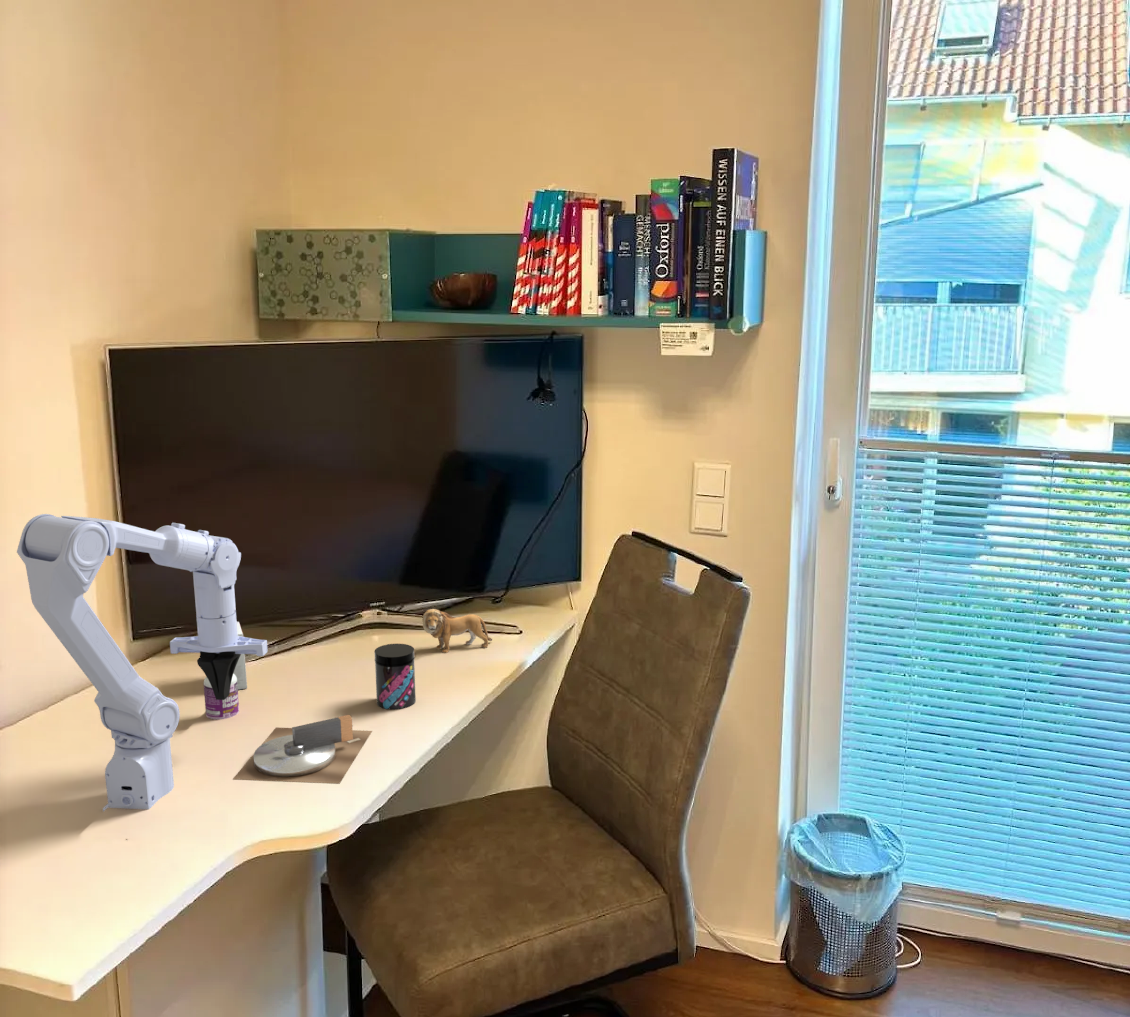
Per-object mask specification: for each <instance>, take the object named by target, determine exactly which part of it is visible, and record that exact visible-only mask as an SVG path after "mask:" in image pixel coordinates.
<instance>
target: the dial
mask: <svg viewBox="0 0 1130 1017" xmlns="http://www.w3.org/2000/svg"><path fill="white" fill-rule="evenodd" d="M291 728H292V733H293V735H288V736H283V737H279V738H276V739H273V740H270V741H268V742H266V743H264V744H262V743H261V745H260V746H258V747H257V748H256V749H255V751H254V753H253V754H254V766H255V767H256V769H257V770H259V771H260V772H262V773H264V774H267V775H272V776H280V777H289V776H299V775H305V774H309V773H312V772H315V771H318V770H320V769H322V768H324V767H326V766H328V765H329V764H330V763H331V762H332V761H333V760H334V758H335V745H334V743H338V742H343V741H348V740H352V739H353V731H352V730H353V718H352V715H350V714H346V715H342V716H338V717H333V718H329V719H325V720H324V719H323V720H319V721H315V722H311V723H306V724H301V725H297V726H293V727H291Z"/></svg>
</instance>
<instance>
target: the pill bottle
mask: <svg viewBox="0 0 1130 1017" xmlns="http://www.w3.org/2000/svg"><path fill="white" fill-rule="evenodd" d="M203 693H204V708H205V716H206V717H207V718H208V719H210V720H226V719H230V718H233V717H235V716H237V715H239V713H240V705H239V704H240V703H239V690H238V686H237V677H236V676H235V674H233V677H232V681H231V686H230V694H229V696H228V697H227V698H226V699H225V700H216V698H215V695H214V692H213V689H212V687H211V684H210V682H209V680H208V678H207V676H206V677H204V680H203Z"/></svg>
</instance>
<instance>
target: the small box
mask: <svg viewBox="0 0 1130 1017" xmlns="http://www.w3.org/2000/svg"><path fill="white" fill-rule="evenodd" d="M237 634H238V636H241V637H244V632H243V629H242V627H241V624H240V621H237ZM245 655H246V654H241V656H240V658H239V660H238V662H237V665H236V667H235V670H234V673H233V674H235V676H236V677H237V686H238V691H240V690H243V689H244V690H245V689H248V682H247V681H248V680H247V667H246V656H245Z"/></svg>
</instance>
